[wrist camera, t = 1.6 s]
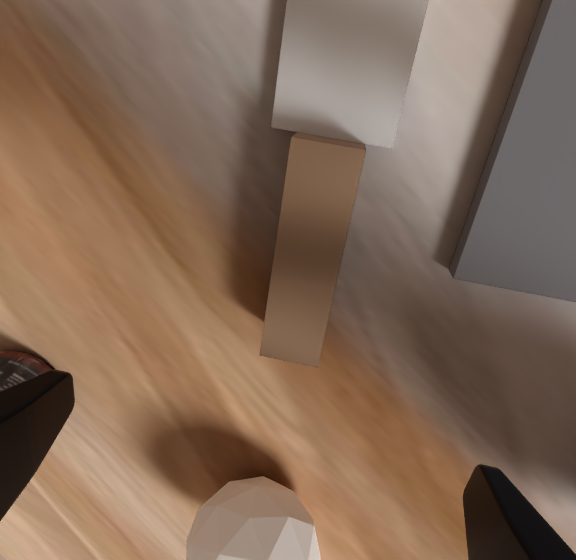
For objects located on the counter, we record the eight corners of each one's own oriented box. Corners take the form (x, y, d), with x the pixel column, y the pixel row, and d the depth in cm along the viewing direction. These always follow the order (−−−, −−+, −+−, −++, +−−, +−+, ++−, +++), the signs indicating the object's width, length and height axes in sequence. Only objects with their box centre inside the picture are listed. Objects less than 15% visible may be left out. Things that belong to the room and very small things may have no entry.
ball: (288, 445, 30) (352, 514, 22) (279, 553, 30) (338, 654, 23) (178, 460, 27) (210, 546, 19) (170, 581, 27) (199, 708, 20)
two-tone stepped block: (342, 339, 22) (340, 372, 20) (249, 320, 23) (236, 350, 20) (440, -59, 15) (457, -87, 13) (301, -78, 15) (290, -110, 13)
